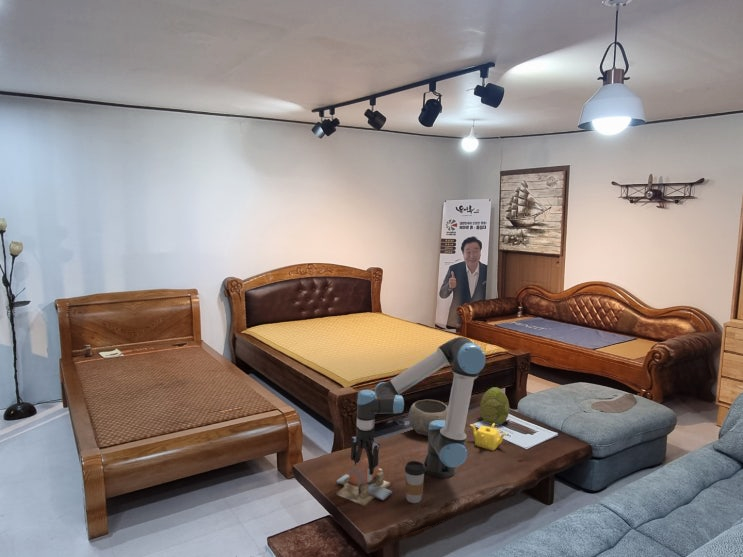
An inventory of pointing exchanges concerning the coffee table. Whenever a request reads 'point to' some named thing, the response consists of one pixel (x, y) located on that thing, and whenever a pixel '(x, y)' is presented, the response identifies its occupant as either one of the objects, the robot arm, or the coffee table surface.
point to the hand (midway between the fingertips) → (363, 478)
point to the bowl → (426, 414)
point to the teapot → (487, 437)
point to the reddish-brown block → (361, 473)
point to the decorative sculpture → (494, 406)
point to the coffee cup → (414, 481)
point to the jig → (365, 489)
